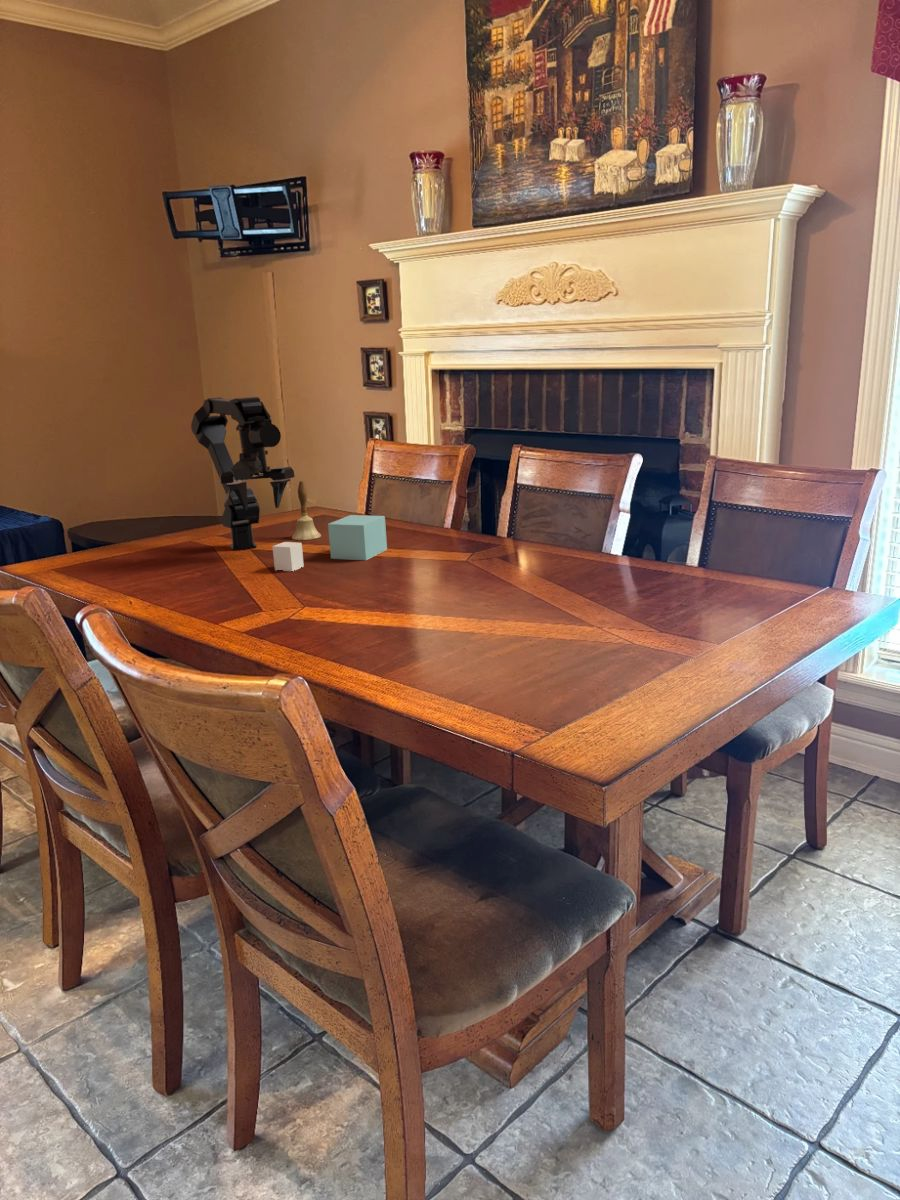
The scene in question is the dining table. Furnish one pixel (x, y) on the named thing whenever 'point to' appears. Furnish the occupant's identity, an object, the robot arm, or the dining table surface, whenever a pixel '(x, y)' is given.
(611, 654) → the dining table surface
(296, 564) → the white block
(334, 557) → the teal block
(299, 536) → the hand bell
